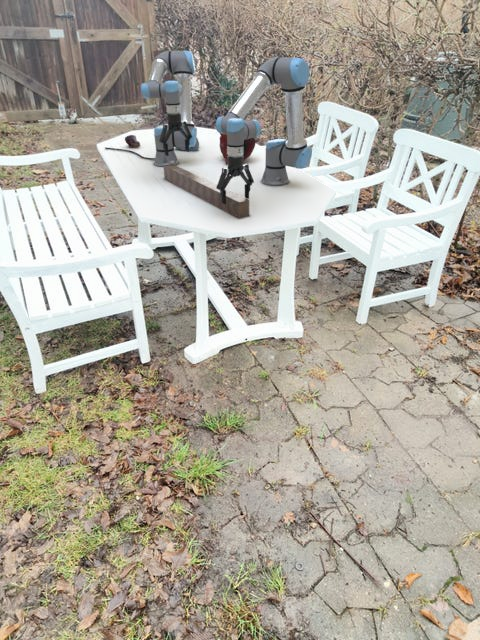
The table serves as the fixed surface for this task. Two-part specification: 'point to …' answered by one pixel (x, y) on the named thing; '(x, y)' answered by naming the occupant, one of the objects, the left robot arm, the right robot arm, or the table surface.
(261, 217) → the table surface
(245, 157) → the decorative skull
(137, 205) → the table surface
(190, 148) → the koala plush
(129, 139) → the rock
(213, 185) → the bar
